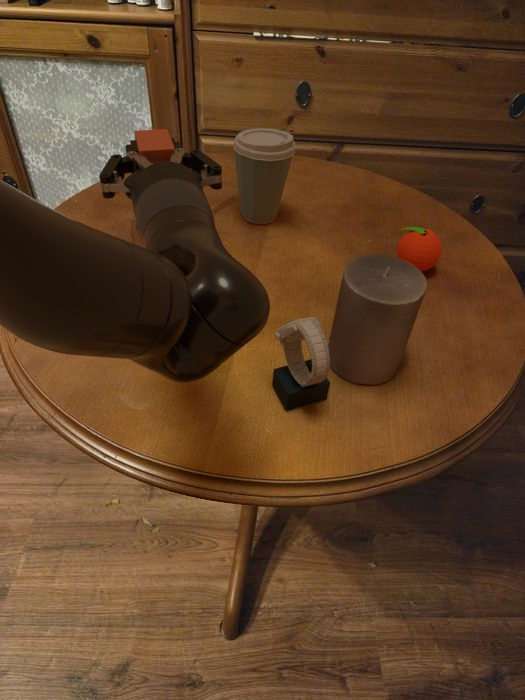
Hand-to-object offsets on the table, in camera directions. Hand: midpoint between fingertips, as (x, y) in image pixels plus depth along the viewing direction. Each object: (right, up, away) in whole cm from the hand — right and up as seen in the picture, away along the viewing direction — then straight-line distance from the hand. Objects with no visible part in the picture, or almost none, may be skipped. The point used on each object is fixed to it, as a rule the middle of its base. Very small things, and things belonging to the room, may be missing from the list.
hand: (152, 147), depth 62 cm
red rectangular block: (0, -8, +4) cm, 8 cm away
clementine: (+38, -11, +22) cm, 46 cm away
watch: (+18, -31, 0) cm, 36 cm away
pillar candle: (+27, -27, +5) cm, 38 cm away
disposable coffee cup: (+13, 0, +31) cm, 34 cm away
